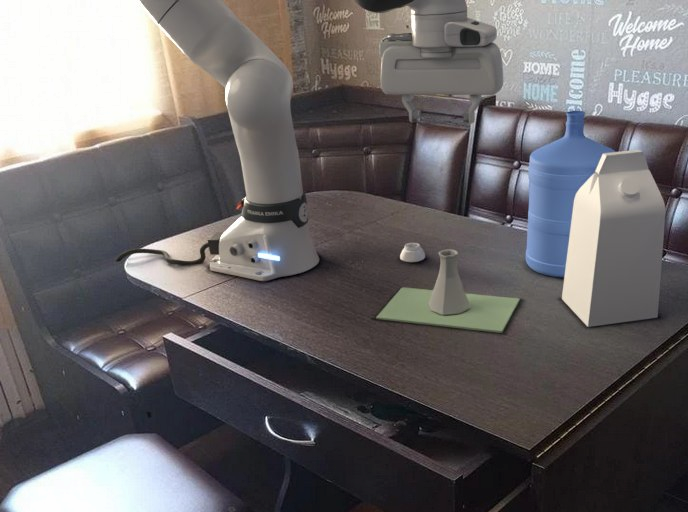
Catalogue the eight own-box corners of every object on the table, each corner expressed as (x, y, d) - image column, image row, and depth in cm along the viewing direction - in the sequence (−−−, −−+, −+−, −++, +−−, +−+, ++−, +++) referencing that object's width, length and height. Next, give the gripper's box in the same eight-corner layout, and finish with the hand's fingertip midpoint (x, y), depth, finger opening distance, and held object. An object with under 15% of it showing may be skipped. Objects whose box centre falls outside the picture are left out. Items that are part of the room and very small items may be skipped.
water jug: (625, 271, 143) (640, 115, 129) (548, 285, 140) (555, 126, 126) (583, 244, 156) (593, 99, 142) (512, 256, 153) (515, 110, 139)
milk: (626, 290, 136) (642, 140, 123) (657, 317, 126) (678, 157, 113) (561, 298, 135) (570, 147, 121) (587, 327, 125) (600, 166, 112)
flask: (421, 304, 135) (419, 250, 130) (457, 295, 138) (457, 241, 133) (440, 319, 130) (438, 263, 125) (478, 310, 132) (478, 255, 127)
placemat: (376, 319, 132) (376, 316, 132) (402, 289, 143) (402, 287, 142) (502, 333, 125) (502, 331, 125) (519, 300, 135) (519, 298, 135)
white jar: (425, 254, 157) (400, 255, 157) (424, 240, 156) (399, 241, 156) (425, 263, 153) (400, 264, 153) (424, 249, 151) (399, 250, 152)
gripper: (371, 36, 123) (377, 125, 130) (496, 33, 116) (496, 127, 123) (385, 31, 128) (390, 117, 135) (506, 28, 121) (505, 119, 128)
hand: (441, 122), depth 129 cm, fingers open, 8 cm apart
